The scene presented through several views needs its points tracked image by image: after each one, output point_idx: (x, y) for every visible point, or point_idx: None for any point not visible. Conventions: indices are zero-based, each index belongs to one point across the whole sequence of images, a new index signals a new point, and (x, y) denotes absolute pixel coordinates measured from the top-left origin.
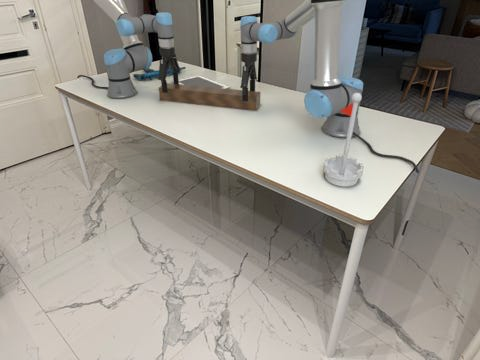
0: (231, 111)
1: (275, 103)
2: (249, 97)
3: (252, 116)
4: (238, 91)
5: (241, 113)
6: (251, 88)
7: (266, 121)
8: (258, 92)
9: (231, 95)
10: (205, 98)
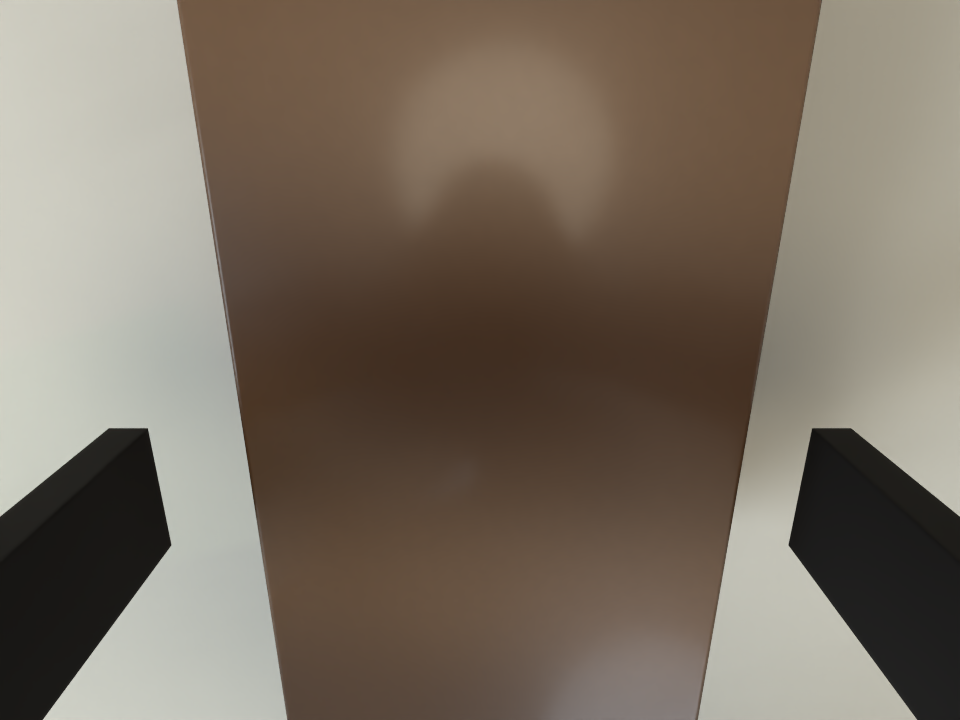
0: (141, 128)
1: (734, 699)
2: (274, 575)
3: None
4: (603, 182)
5: (141, 340)
6: (865, 537)
7: None
8: (635, 704)
9: (191, 38)
10: None
